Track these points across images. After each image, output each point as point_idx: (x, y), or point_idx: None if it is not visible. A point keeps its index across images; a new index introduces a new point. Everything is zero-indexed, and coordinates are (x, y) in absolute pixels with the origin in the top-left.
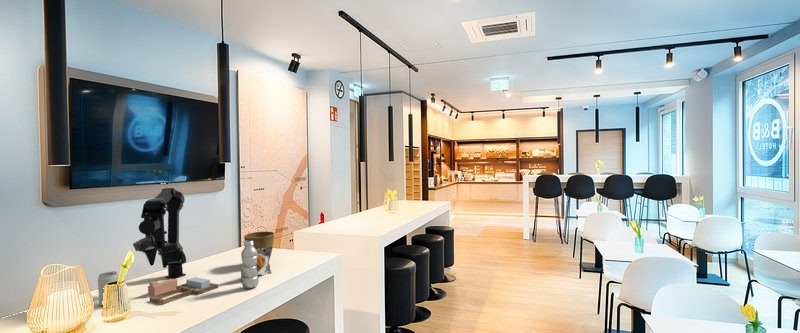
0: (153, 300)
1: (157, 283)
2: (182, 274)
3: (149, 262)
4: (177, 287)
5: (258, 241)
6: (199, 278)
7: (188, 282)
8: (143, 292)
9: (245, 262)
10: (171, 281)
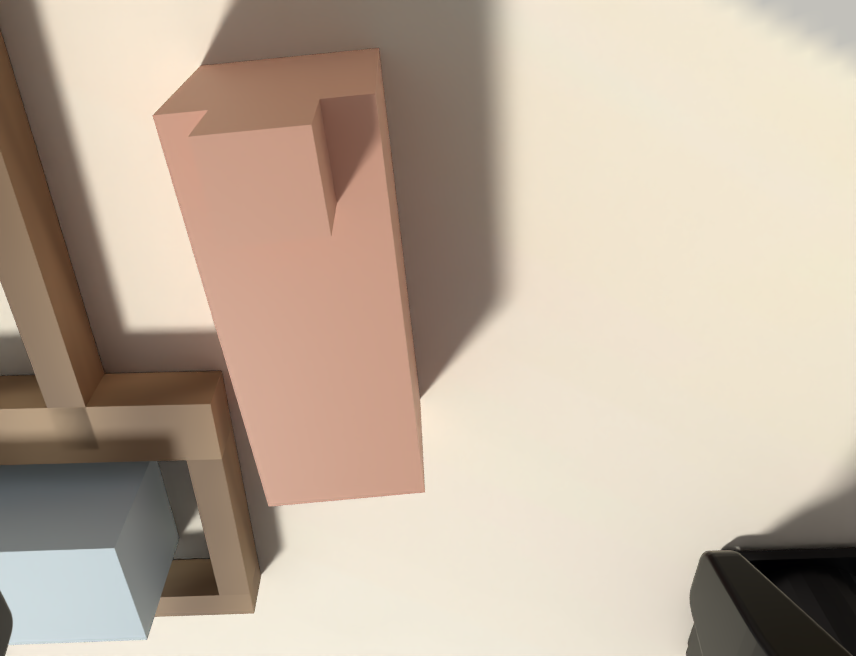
0: None
1: (368, 274)
2: (689, 648)
3: (796, 632)
4: (183, 396)
5: None
6: None
7: (73, 520)
8: (624, 97)
9: None
10: (247, 428)
